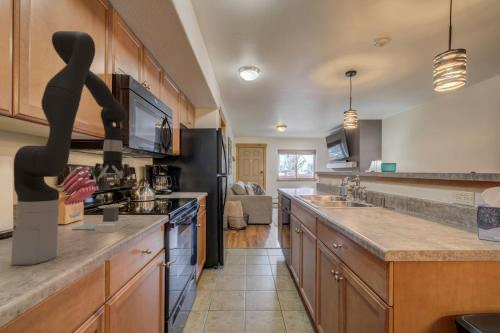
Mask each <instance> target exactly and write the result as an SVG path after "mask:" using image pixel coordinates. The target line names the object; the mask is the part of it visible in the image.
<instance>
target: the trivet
mask: <svg viewBox="0 0 500 333" xmlns="http://www.w3.org/2000/svg"><path fill="white" fill-rule="evenodd" d="M97 224H98V223H85V224H82V225H79V226H76V227H73V228H72V231H95V225H97Z"/></svg>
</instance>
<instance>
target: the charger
mask: <svg viewBox="0 0 500 333" xmlns="http://www.w3.org/2000/svg"><path fill="white" fill-rule="evenodd" d="M119 210H120V209H119V207H118V205H116V206H115V205H113V206H110V205H109V206H105V207H104V208H103V209H102V212H103V214H102V215H103V216H102V220H103V222H115V221H117V220H118V216H119Z"/></svg>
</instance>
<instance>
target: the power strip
mask: <svg viewBox="0 0 500 333" xmlns="http://www.w3.org/2000/svg"><path fill="white" fill-rule="evenodd" d="M96 224H97V225H95V230H94V233H115V232H117V231H119V230H120V229H123V228H124V227H127V226H129V225H131V224H132V217H130V216H129V215H118V220H117V221H115V222H103V219H102V220H99V221H98V222H97V223H96Z"/></svg>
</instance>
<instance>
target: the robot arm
mask: <svg viewBox="0 0 500 333" xmlns="http://www.w3.org/2000/svg"><path fill="white" fill-rule="evenodd" d="M51 43H52V46H53V49H54V51H55V53H56V54H57V55H58V56H59V58H60V59H61V61H63V62H64V64H65V66H64V67H63V68H62V69H61V70H59V71H58V72H57V73H56V74H55V75H54V76H53V77H51V78H50V80H48V82H47V84H45V85H46V86H45V88H44V91H43V94H42V98H41V103H40V104H41V105H40V106H41V109H42V111H43V114H44V117H45V119H46V120H47V122H48V125H49V134H48V138H47V142H46V144H45V145H33V144H32V145H25V146H24V145H23V146H21V147H20V148H19V149H18V150H17V151H16V153H15V155H14V159H13V187H14V188H13V189H14V192H15V194H16V197H17V203H16V205H17V207H16V220H15V221H16V222H15V223H16V224H15V228H14V229H13V230H12V240H11V242H12V243H11V261H10V262H11V266H13V265H15V266H18V265H19V266H22V265H23V266H24V265H26V266H27V265H30V266H31V265H34V266H35V265H36V264H40V263H45V262H47V261H50V260H53V259H55V258H56V257H57V255H58V235H59V233H58V232H59V231H58V230H59V228H58V227H59V207H60V191H59V190H58V189H57V188H54V187H52V186H50V185H48V184H47V182H45V178H56V177H60V176H61V175H63V174H64V172H65V171H66V169H67V167H68V163H69V158H70V153H71V152H70V150H71V142H72V136H73V130H74V125H75V121H76V118H77V115H78V110H79V107H80V103H81V99H82V94H83V90H84V87H85V88H86V89H87V90H88V91H89V93H90V95H91V96H92V97H93V99H94V101H95V102H96V103H97V105H98V106H99V107H100V108H101V110H100V119H101V122H102V125H103V126H102V127H103V129H104V138H103V139H104V141H103V153H102V154H103V155H102V161H103V162H102V163H99V162H97V163H95V166H94V173H93V175H94V176H93V177H96V178H98V185H99V187H101V188H102V187H105V177H106V176H107V175H108V174H117V175H118V177H119V188H124V186H125V183H126V178H129V177H130V176H131V174H130V164H129V163H124V164H123V151H124V147H123V129H122V128H119V127H116V126H115V125H113V124H114V123H117V124H118V123H125V122H127V120H128V112H127V110H126V108H125V107H124V105H123V104H122V103H120V101H119V100H117V99H116V98H115V96H114V95H113V93H112V91H111V90H110V87H109V86H108V84H107V82H105V81H104V80H103V79H101V78H100V76H98V75H97V74H96V73H94V72H93V71H92V70H91V66H92V64H93V61H94V59H95V56H96V55H95V54H96V44H95V41H94V39H93V37H92V36H91V35H90V34H89V33H87V32H85V31H80V30H79V31H78V30H76V31H74V30H60V31H59V30H58V31H55V32H54V33H53V34H52V36H51ZM122 168H123V169H124V172H123V170H122ZM101 170H102V171H101Z"/></svg>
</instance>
